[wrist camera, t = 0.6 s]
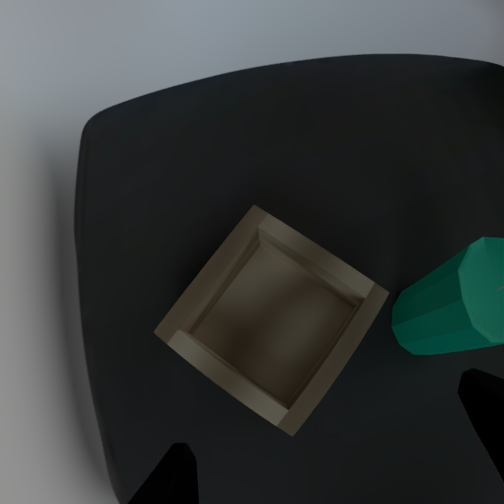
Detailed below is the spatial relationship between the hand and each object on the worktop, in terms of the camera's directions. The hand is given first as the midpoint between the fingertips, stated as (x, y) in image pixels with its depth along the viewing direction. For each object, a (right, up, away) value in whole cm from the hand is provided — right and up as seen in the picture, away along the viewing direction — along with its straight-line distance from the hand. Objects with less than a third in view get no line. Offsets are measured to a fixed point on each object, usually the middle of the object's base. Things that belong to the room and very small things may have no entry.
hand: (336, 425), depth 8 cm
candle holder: (-1, 0, +15) cm, 15 cm away
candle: (+11, 0, +14) cm, 18 cm away
